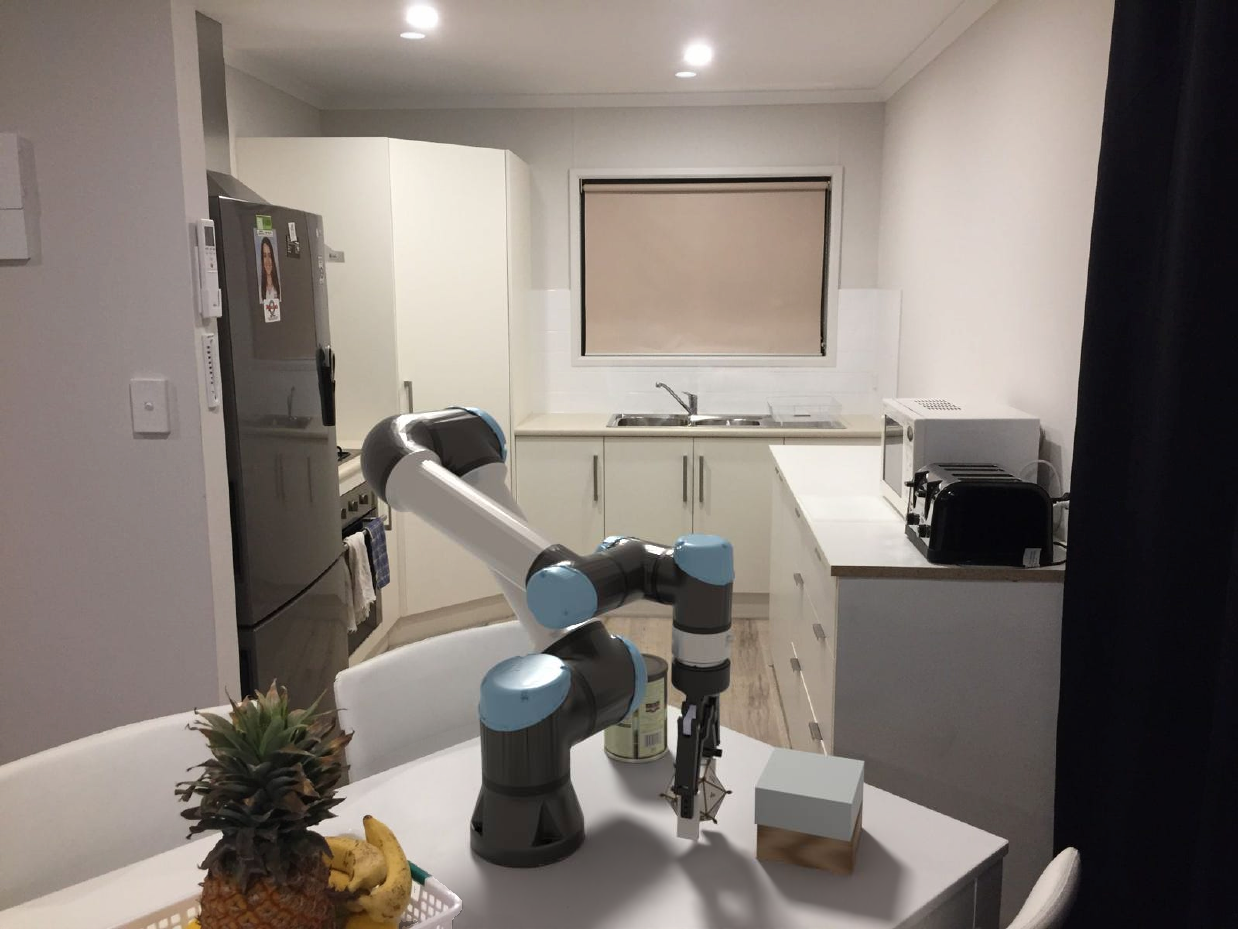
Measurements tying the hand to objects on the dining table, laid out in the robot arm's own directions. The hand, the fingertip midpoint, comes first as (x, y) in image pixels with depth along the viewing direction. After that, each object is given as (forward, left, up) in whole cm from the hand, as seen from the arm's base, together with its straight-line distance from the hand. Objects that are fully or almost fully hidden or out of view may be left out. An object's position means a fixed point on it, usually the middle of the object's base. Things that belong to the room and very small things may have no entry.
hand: (696, 819), depth 131 cm
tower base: (+14, +4, -3) cm, 15 cm away
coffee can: (-16, +23, -3) cm, 28 cm away
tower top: (+14, +4, +2) cm, 15 cm away
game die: (0, 0, -1) cm, 1 cm away
